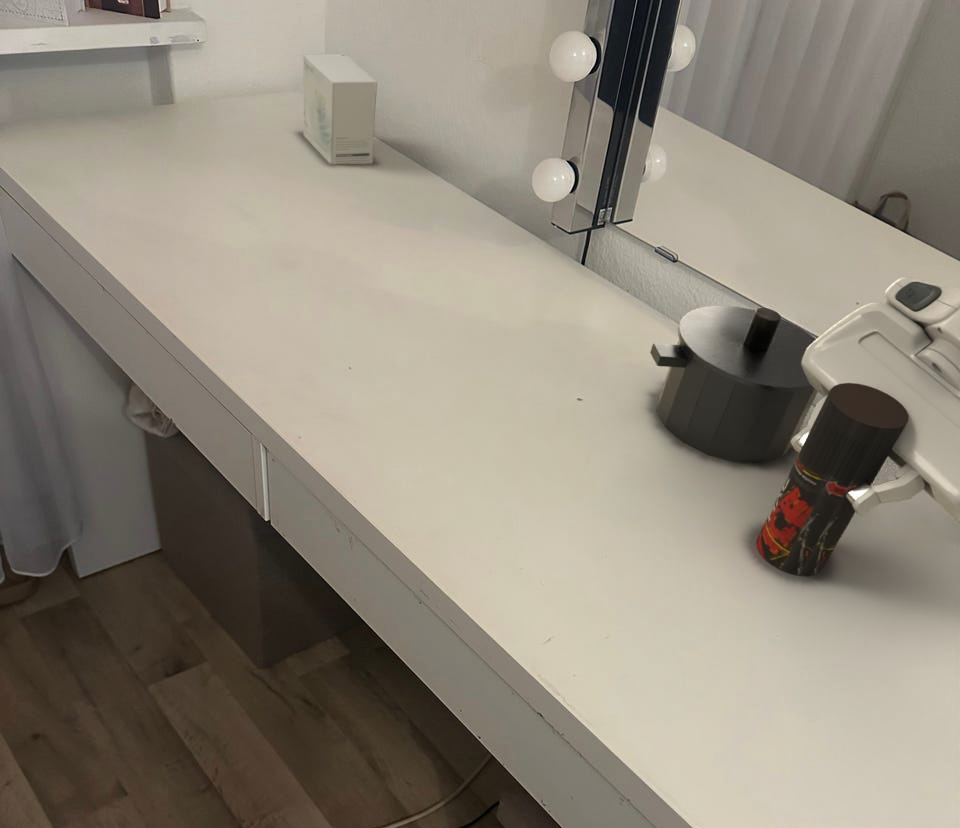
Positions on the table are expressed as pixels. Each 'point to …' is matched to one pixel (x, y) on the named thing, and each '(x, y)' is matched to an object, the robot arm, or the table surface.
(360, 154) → the cosmetics box
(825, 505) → the deodorant
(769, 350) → the pot lid
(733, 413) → the pot
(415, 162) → the table surface
